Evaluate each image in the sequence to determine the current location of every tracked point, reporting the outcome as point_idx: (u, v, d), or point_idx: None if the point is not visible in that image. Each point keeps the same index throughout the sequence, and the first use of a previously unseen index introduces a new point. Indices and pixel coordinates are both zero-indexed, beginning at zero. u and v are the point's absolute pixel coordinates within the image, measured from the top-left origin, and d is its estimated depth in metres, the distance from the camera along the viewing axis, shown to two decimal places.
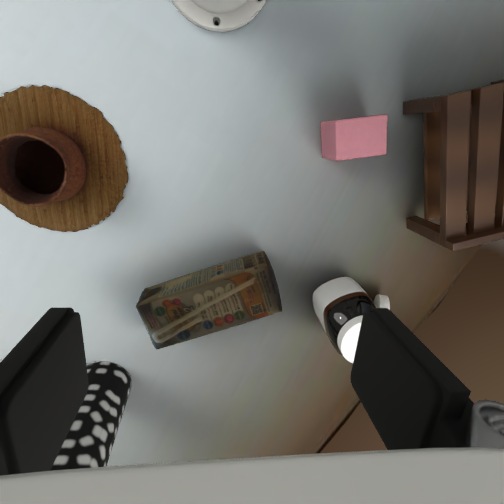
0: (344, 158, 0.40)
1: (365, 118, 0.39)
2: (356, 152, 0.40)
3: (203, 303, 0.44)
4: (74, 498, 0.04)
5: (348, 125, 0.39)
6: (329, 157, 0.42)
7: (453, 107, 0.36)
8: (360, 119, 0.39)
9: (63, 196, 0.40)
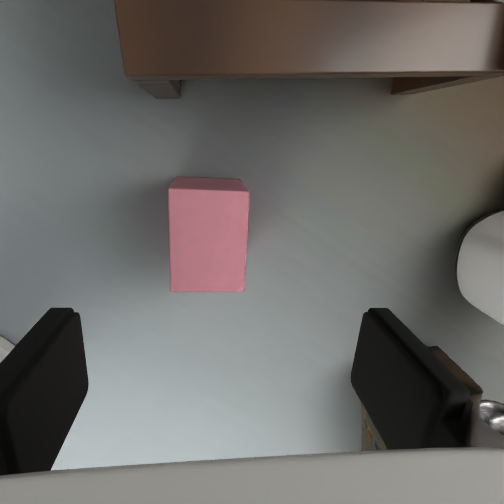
0: (242, 276, 0.21)
1: (171, 235, 0.19)
2: (235, 253, 0.20)
3: None
4: (74, 498, 0.04)
5: (182, 269, 0.20)
6: None
7: (157, 57, 0.13)
8: (172, 245, 0.19)
9: None
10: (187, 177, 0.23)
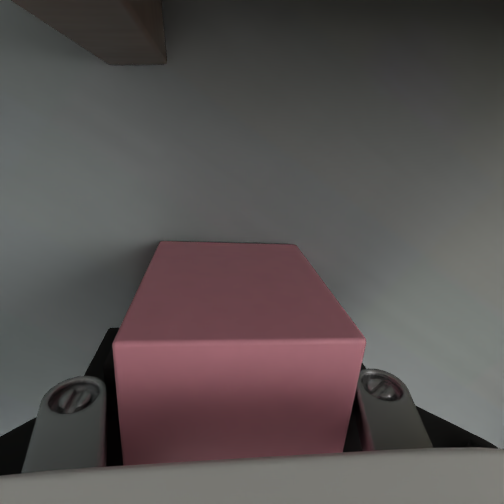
0: None
1: (129, 460, 0.06)
2: None
3: None
4: (74, 498, 0.04)
5: None
6: None
7: None
8: None
9: None
10: (183, 244, 0.10)
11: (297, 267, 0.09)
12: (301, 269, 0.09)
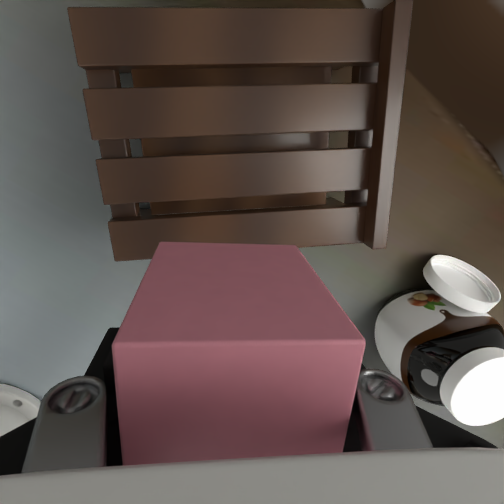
0: None
1: (129, 461, 0.06)
2: None
3: None
4: (74, 498, 0.04)
5: None
6: None
7: (134, 251, 0.21)
8: None
9: None
10: (183, 245, 0.10)
11: (297, 268, 0.09)
12: (301, 270, 0.09)
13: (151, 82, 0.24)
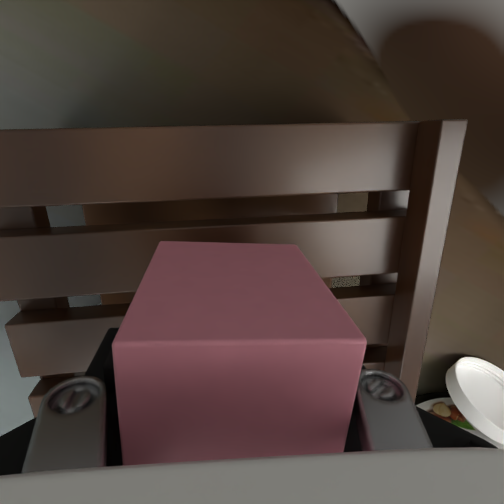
0: None
1: (129, 461, 0.06)
2: None
3: None
4: (74, 498, 0.04)
5: None
6: None
7: None
8: None
9: None
10: (183, 244, 0.10)
11: (297, 267, 0.09)
12: (301, 269, 0.09)
13: None
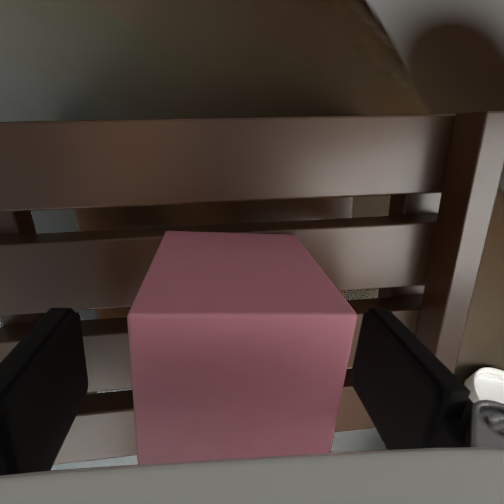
0: None
1: (141, 425, 0.07)
2: (303, 452, 0.08)
3: None
4: (74, 498, 0.04)
5: None
6: None
7: None
8: (144, 445, 0.07)
9: None
10: (188, 234, 0.11)
11: (295, 254, 0.10)
12: (299, 256, 0.10)
13: None
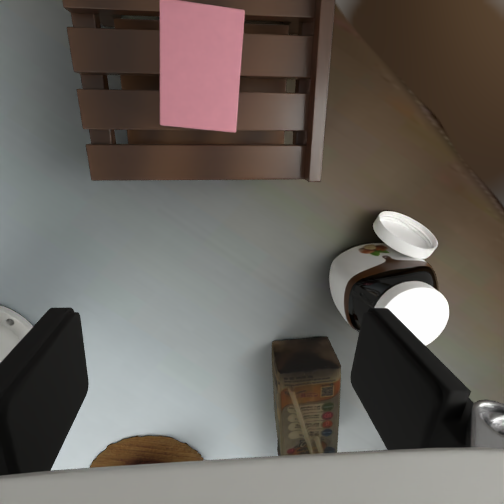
0: (234, 113, 0.20)
1: (162, 55, 0.18)
2: (227, 84, 0.19)
3: (300, 431, 0.42)
4: (74, 498, 0.04)
5: (172, 97, 0.19)
6: None
7: (108, 172, 0.26)
8: (163, 67, 0.19)
9: None
10: None
11: None
12: None
13: None
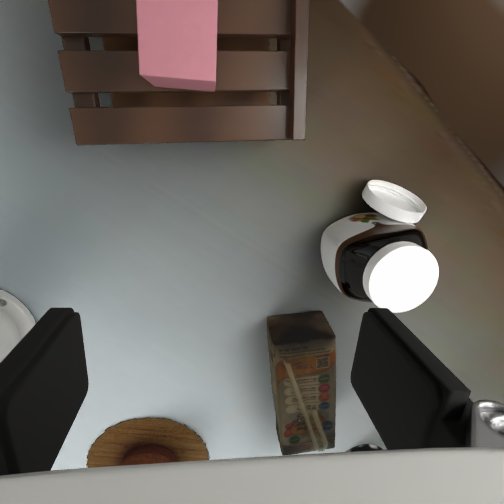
0: (213, 62, 0.20)
1: (138, 2, 0.19)
2: (205, 31, 0.19)
3: (298, 406, 0.42)
4: (74, 498, 0.04)
5: (150, 46, 0.19)
6: (211, 86, 0.23)
7: (92, 135, 0.26)
8: (140, 15, 0.19)
9: None
10: None
11: None
12: None
13: None
